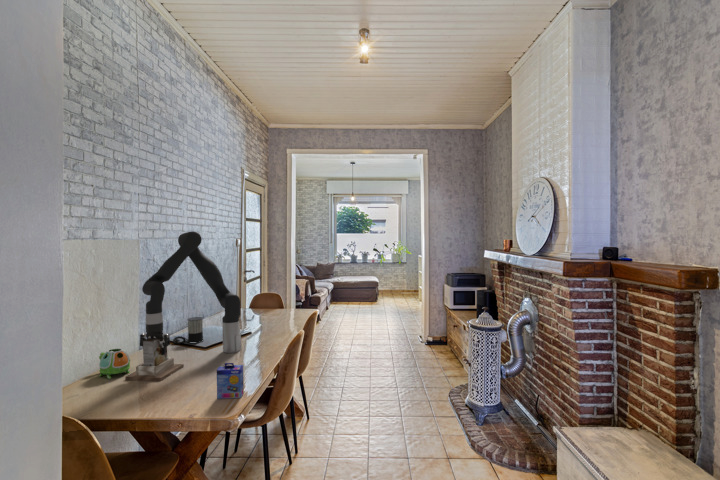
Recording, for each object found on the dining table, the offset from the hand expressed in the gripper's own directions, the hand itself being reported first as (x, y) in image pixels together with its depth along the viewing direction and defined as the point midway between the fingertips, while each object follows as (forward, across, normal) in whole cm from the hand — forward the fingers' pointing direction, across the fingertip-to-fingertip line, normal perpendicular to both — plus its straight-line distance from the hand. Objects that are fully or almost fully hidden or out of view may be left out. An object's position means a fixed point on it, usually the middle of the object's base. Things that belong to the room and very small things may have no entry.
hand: (155, 354), depth 183 cm
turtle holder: (+9, +21, +2) cm, 23 cm away
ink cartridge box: (+9, -49, +22) cm, 55 cm away
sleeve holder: (+9, 0, 0) cm, 9 cm away
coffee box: (+8, 0, 0) cm, 8 cm away
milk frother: (+9, +14, -51) cm, 54 cm away
